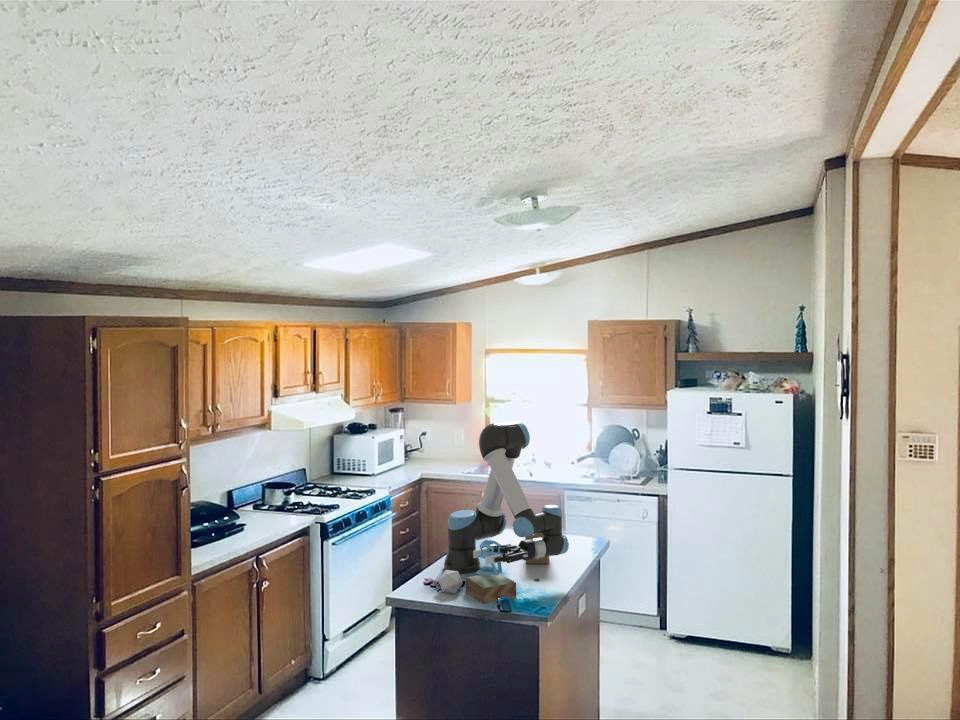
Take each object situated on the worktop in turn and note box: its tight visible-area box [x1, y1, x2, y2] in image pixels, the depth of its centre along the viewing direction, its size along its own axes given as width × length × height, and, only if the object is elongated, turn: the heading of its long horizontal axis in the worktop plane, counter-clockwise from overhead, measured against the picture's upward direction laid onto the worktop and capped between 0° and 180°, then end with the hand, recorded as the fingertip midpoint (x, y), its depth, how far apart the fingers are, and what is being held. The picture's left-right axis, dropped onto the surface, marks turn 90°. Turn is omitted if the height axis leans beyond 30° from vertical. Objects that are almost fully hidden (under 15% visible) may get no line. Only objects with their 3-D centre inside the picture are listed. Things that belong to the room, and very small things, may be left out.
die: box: [437, 569, 464, 594], centre depth 292 cm, size 8×9×10 cm
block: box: [524, 512, 550, 565], centre depth 330 cm, size 10×10×20 cm
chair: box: [476, 539, 503, 575], centre depth 287 cm, size 8×8×12 cm
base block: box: [465, 573, 517, 605], centre depth 287 cm, size 14×14×6 cm
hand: (479, 557), depth 284 cm, fingers closed on chair, 9 cm apart
